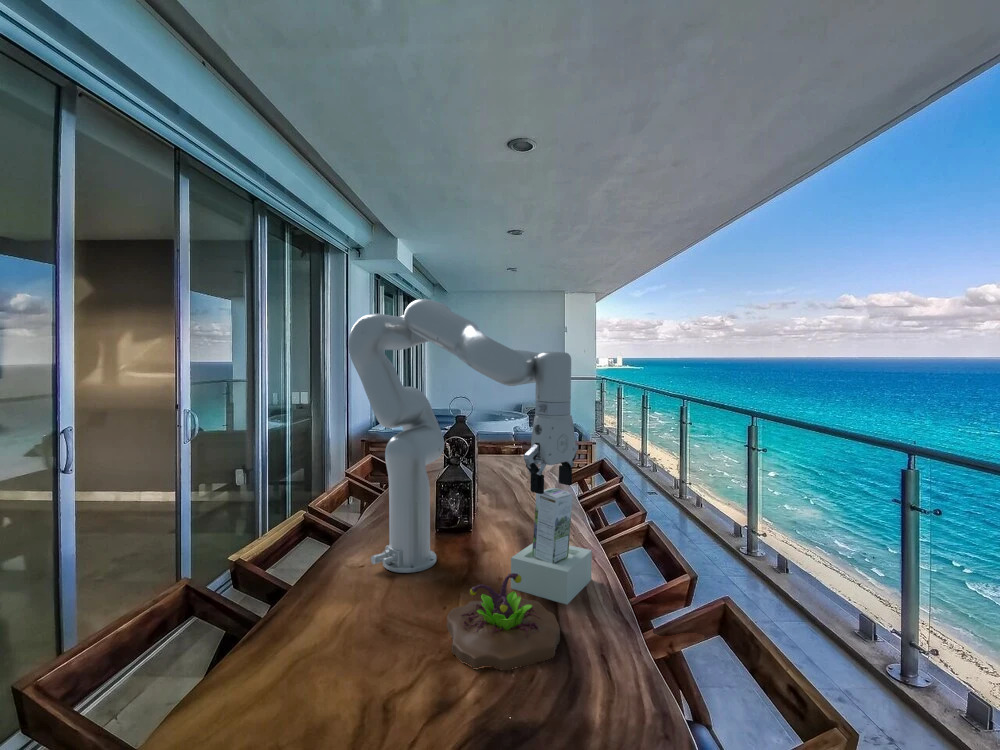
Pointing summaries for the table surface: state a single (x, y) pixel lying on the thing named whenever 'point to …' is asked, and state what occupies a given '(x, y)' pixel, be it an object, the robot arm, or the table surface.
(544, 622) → the plant
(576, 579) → the sage block
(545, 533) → the syrup box
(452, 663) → the table surface
